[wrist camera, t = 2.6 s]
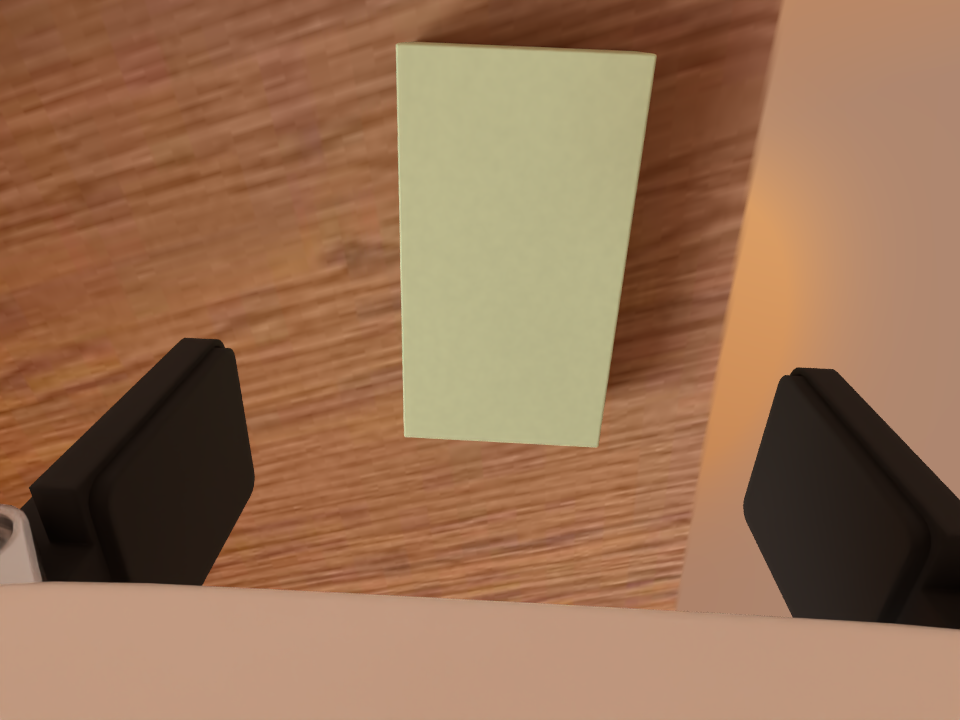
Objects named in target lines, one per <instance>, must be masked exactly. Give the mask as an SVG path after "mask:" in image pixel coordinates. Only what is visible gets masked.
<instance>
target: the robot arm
mask: <svg viewBox="0 0 960 720" xmlns="http://www.w3.org/2000/svg"><path fill="white" fill-rule="evenodd" d="M254 478H255V476H254V468H253V462H252V456H251V450H250V444H249V438H248V432H247V425H246V419H245V413H244V407H243V401H242V395H241V389H240V383H239V377H238V371H237V365H236V359H235V354H234V352H233V350H232V349H231V348H225V347H224V345H223V343H222V342H221V341H220V340H218V339H198V338H184V339H182V340H181V341H180V342H179V343H177V344H176V345H175V346H174V347H173V348H172V349H171V350H170V351H169V352H168V353H167V354H166V355H165V356H164V357H163V358H162V359H161V360H160V361H159V362H158V363H157V364H156V365H155V366H154V367H153V368H152V369H151V370H150V371H149V372H148V373H147V374H146V375H144V376H143V377H142V378H141V379H140V380H139V381H138V382H137V383H136V384H135V385H134V386H133V387H132V388H131V389H130V390H129V391H128V392H127V393H126V394H125V395H124V396H123V397H122V398H121V399H120V400H119V401H118V402H117V403H116V404H115V405H114V406H113V407H111V408H110V409H109V410H108V411H107V412H106V413H105V414H104V415H103V416H102V417H101V418H100V419H99V420H98V421H97V422H96V423H95V424H94V425H93V426H92V427H91V428H90V429H89V430H88V431H87V432H86V433H85V434H84V435H83V436H82V437H81V438H80V439H78V440H77V441H76V442H75V443H74V444H73V445H72V446H71V447H70V448H69V449H68V450H67V451H66V452H65V453H64V454H63V455H62V456H61V457H60V458H59V459H58V460H57V461H56V462H55V463H54V464H53V465H52V466H51V467H50V468H49V469H48V470H47V471H46V472H44V473H43V474H42V475H41V476H40V477H39V478H38V479H37V480H36V481H35V482H34V483H33V484H32V485H31V486H30V487H29V489H30V492H31V494H32V498H31V499H30V500H29V501H28V502H27V503H26V504H25V505H24V506H23V507H22V508H21V509H18V508H16V507H14V506H12V505H4V504H0V720H960V500H959V499H958V498H957V497H956V496H955V494H954V493H953V492H952V491H951V490H950V489H949V488H948V487H947V486H946V485H945V484H944V483H943V482H942V481H941V480H940V479H939V478H938V477H937V476H936V475H935V474H934V473H933V471H932V470H931V469H930V468H929V467H928V466H926V464H925V463H924V462H923V461H922V460H921V459H920V458H919V457H918V456H917V455H916V454H915V453H914V452H913V451H912V450H911V449H910V447H909V446H908V445H907V444H906V443H905V442H904V441H903V440H902V439H901V438H900V437H899V436H898V435H897V434H896V433H895V432H894V431H893V430H892V429H891V428H890V427H889V426H888V425H887V423H886V422H885V421H884V420H883V419H882V418H881V417H880V416H879V415H878V414H877V413H876V412H875V411H874V410H873V409H872V408H871V407H870V406H869V405H868V404H867V403H866V402H865V401H864V399H863V398H861V397H860V395H859V394H858V393H857V392H856V391H855V390H854V389H853V388H852V387H851V386H850V385H849V384H848V383H847V382H846V381H845V380H844V379H843V378H842V377H841V375H839V373H838V372H836V371H835V370H833V369H817V368H796V369H794V370H793V371H792V373H791V374H790V375H785V376H783V377H782V378H781V379H780V381H779V384H778V387H777V390H776V393H775V397H774V400H773V404H772V407H771V410H770V414H769V417H768V420H767V424H766V427H765V430H764V434H763V437H762V441H761V444H760V447H759V451H758V454H757V457H756V461H755V464H754V467H753V471H752V474H751V478H750V481H749V484H748V488H747V491H746V495H745V498H744V505H743V509H744V516H745V519H746V522H747V524H748V526H749V528H750V530H751V532H752V534H753V536H754V538H755V540H756V543H757V544H758V547H759V549H760V551H761V553H762V555H763V557H764V559H765V561H766V563H767V565H768V567H769V569H770V571H771V573H772V575H773V578H774V580H775V581H776V584H777V586H778V588H779V590H780V592H781V594H782V595H783V598H784V600H785V602H786V604H787V606H788V608H789V610H790V612H791V615H792V617H793V618H791V617H773V616H758V615H741V614H724V613H705V612H689V611H671V610H652V609H634V608H615V607H597V606H578V605H560V604H542V603H524V602H505V601H485V600H467V599H448V598H429V597H411V596H393V595H374V594H356V593H338V592H317V591H297V590H276V589H256V588H235V587H215V586H202V584H203V583H204V581H205V579H206V577H207V575H208V573H209V571H210V570H211V568H212V566H213V564H214V562H215V560H216V559H217V557H218V555H219V553H220V551H221V549H222V547H223V546H224V544H225V542H226V540H227V538H228V536H229V535H230V533H231V531H232V529H233V527H234V525H235V523H236V522H237V520H238V518H239V516H240V514H241V512H242V511H243V509H244V507H245V505H246V503H247V501H248V499H249V498H250V496H251V493H252V491H253V487H254Z"/></svg>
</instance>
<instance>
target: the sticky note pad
mask: <svg viewBox="0 0 960 720" xmlns="http://www.w3.org/2000/svg"><path fill="white" fill-rule="evenodd" d="M656 58H657V56H656V54H652V53H645V52H637V51H620V50H597V49H573V48H550V47H526V46H503V45H479V44H456V43H432V42H403V43H397V44H396V76H397V123H398V170H399V217H400V265H401V312H402V359H403V406H404V436H405V437H417V438H435V439H453V440H471V441H489V442H508V443H526V444H544V445H562V446H580V447H598V445H599V438H600V432H601V425H602V418H603V412H604V405H605V398H606V392H607V385H608V378H609V372H610V365H611V358H612V352H613V345H614V338H615V332H616V325H617V318H618V312H619V305H620V298H621V292H622V285H623V278H624V272H625V265H626V258H627V252H628V245H629V238H630V232H631V225H632V218H633V212H634V205H635V198H636V192H637V185H638V178H639V172H640V165H641V158H642V152H643V145H644V138H645V132H646V125H647V118H648V112H649V105H650V98H651V92H652V85H653V78H654V71H655V65H656Z"/></svg>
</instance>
